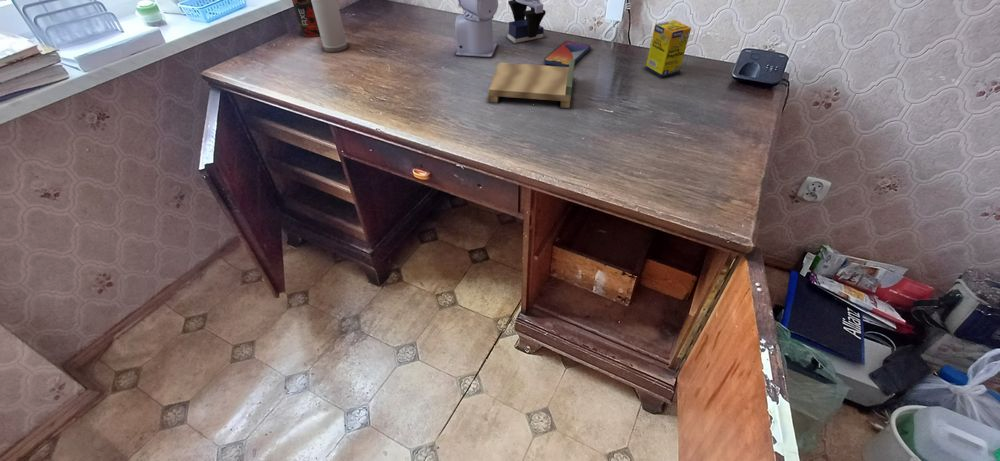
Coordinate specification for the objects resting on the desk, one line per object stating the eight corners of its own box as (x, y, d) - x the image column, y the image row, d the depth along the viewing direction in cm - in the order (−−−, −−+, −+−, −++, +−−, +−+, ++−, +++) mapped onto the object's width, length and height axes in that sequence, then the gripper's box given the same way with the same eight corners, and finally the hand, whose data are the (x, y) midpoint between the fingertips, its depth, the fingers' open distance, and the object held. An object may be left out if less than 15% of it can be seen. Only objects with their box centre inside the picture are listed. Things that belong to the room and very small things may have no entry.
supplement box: (661, 78, 112) (672, 32, 105) (644, 68, 116) (654, 23, 108) (679, 73, 114) (692, 27, 107) (663, 63, 118) (673, 19, 110)
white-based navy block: (514, 43, 128) (514, 27, 125) (507, 37, 131) (507, 22, 128) (543, 37, 131) (544, 21, 128) (536, 32, 134) (536, 16, 131)
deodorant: (301, 37, 132) (284, -21, 121) (302, 30, 136) (286, -27, 125) (322, 35, 133) (307, -22, 122) (323, 28, 137) (308, -29, 126)
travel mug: (318, 50, 125) (295, -33, 111) (333, 41, 129) (313, -40, 116) (337, 54, 123) (317, -30, 109) (352, 45, 128) (334, -37, 114)
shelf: (488, 101, 104) (488, 80, 101) (499, 74, 114) (498, 54, 111) (569, 108, 102) (571, 86, 99) (572, 79, 112) (575, 59, 109)
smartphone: (591, 49, 125) (591, 45, 124) (569, 69, 115) (569, 65, 115) (565, 44, 128) (566, 40, 127) (542, 63, 118) (542, 59, 117)
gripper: (555, -16, 117) (551, 38, 126) (527, -31, 126) (526, 21, 136) (530, -12, 115) (528, 43, 124) (504, -27, 124) (504, 25, 134)
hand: (525, 32), depth 130 cm, fingers open, 7 cm apart
